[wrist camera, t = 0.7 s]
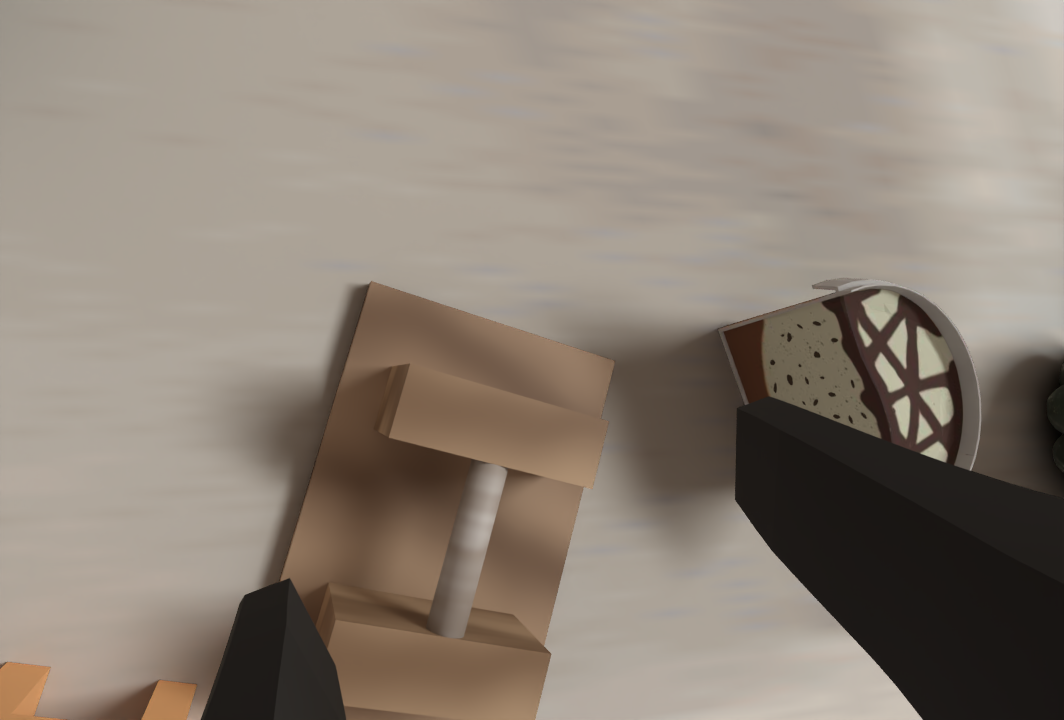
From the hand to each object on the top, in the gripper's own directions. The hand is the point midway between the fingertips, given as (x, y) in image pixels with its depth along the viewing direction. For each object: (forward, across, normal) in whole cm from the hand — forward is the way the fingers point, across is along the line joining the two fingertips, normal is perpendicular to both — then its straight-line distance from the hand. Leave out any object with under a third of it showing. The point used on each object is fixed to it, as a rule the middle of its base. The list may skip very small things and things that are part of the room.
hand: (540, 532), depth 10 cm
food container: (+19, -21, +17) cm, 33 cm away
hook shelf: (+17, +1, +15) cm, 23 cm away
